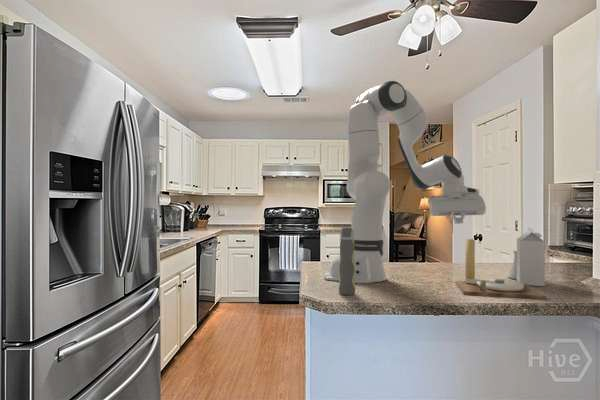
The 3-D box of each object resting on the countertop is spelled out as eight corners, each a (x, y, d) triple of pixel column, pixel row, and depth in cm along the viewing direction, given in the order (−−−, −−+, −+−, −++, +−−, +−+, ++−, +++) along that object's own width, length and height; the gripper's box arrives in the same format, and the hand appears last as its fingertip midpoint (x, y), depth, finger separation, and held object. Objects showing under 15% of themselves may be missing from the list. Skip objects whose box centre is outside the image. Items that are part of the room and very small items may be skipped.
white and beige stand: (528, 286, 117) (528, 241, 118) (517, 293, 108) (516, 244, 108) (472, 278, 129) (472, 237, 129) (458, 284, 120) (458, 240, 120)
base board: (463, 294, 112) (463, 281, 112) (455, 283, 128) (455, 271, 128) (546, 299, 107) (546, 285, 107) (527, 287, 122) (527, 275, 122)
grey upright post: (355, 292, 114) (356, 227, 114) (354, 296, 109) (354, 228, 109) (340, 291, 115) (340, 226, 115) (337, 295, 110) (337, 227, 111)
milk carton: (520, 285, 126) (520, 228, 126) (516, 281, 132) (516, 227, 133) (544, 287, 123) (544, 229, 123) (540, 282, 130) (539, 228, 130)
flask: (524, 277, 140) (523, 250, 140) (534, 281, 133) (534, 252, 133) (503, 276, 141) (503, 250, 141) (512, 280, 133) (512, 252, 134)
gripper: (427, 191, 151) (430, 218, 143) (483, 189, 146) (489, 216, 137) (427, 201, 156) (430, 227, 147) (480, 199, 151) (486, 227, 142)
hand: (459, 222), depth 142 cm, fingers closed
